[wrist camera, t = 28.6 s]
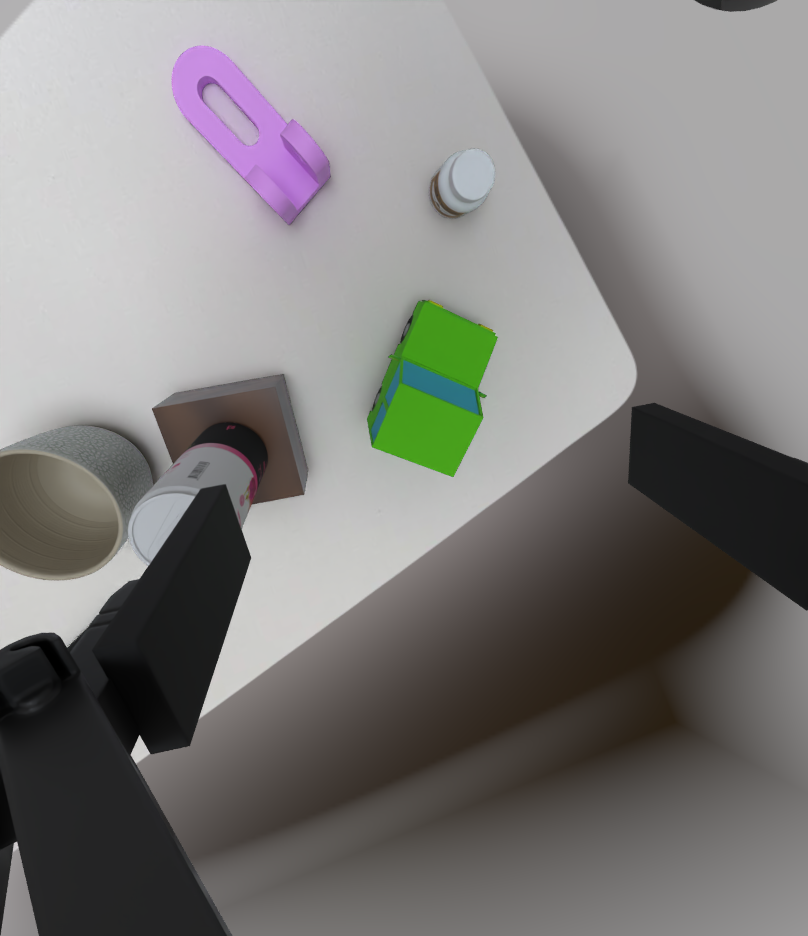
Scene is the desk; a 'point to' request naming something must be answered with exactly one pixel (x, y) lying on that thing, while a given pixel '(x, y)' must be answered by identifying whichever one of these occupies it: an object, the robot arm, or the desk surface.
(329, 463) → the desk surface
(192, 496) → the beverage can
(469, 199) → the pill bottle
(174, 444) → the riser
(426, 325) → the toy car
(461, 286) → the desk surface
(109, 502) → the planter
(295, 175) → the bracket
